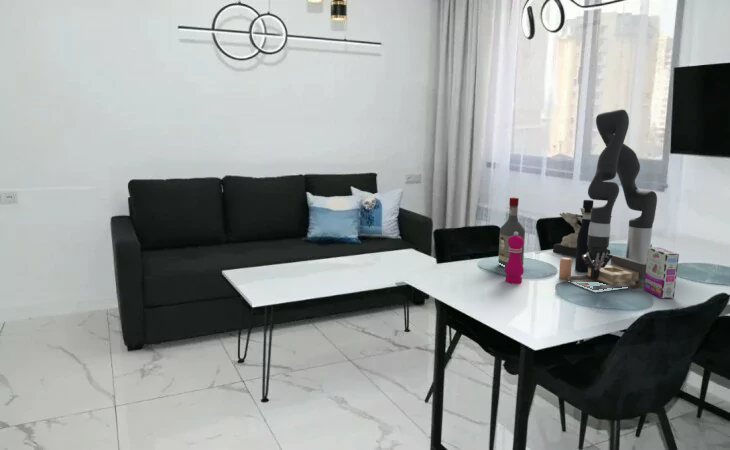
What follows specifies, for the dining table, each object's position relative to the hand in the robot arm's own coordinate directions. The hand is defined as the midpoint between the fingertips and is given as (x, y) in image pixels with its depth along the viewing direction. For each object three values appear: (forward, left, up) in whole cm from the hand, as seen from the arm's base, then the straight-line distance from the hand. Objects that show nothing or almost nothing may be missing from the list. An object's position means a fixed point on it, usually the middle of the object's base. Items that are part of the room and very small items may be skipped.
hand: (594, 278), depth 206 cm
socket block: (-9, 0, -1) cm, 9 cm away
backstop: (-5, 0, -3) cm, 6 cm away
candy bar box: (-15, +16, -3) cm, 22 cm away
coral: (-33, -45, -3) cm, 56 cm away
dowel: (+4, -12, -3) cm, 13 cm away
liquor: (+14, -35, -3) cm, 38 cm away
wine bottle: (-11, -19, -3) cm, 22 cm away
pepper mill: (+26, -15, -3) cm, 30 cm away
